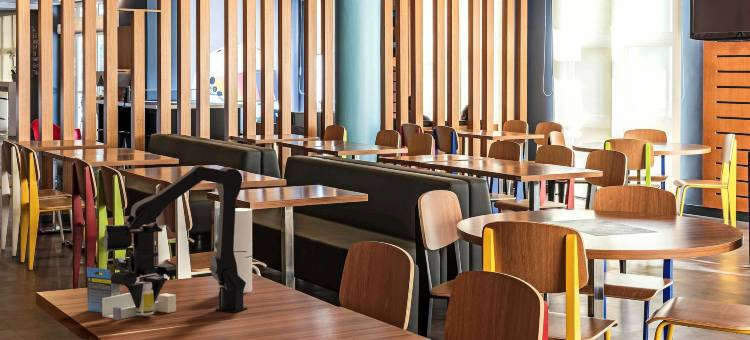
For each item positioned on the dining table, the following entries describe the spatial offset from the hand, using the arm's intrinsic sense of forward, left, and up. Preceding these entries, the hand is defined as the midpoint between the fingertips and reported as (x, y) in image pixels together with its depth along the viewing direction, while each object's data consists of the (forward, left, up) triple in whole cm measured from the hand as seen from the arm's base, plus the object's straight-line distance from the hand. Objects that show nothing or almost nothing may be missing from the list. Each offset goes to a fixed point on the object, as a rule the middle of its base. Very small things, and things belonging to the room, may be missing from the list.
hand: (144, 306), depth 285 cm
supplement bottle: (0, 0, -2) cm, 2 cm away
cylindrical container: (+5, -43, -3) cm, 43 cm away
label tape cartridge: (+14, +2, -3) cm, 15 cm away
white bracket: (+5, -2, -3) cm, 6 cm away
